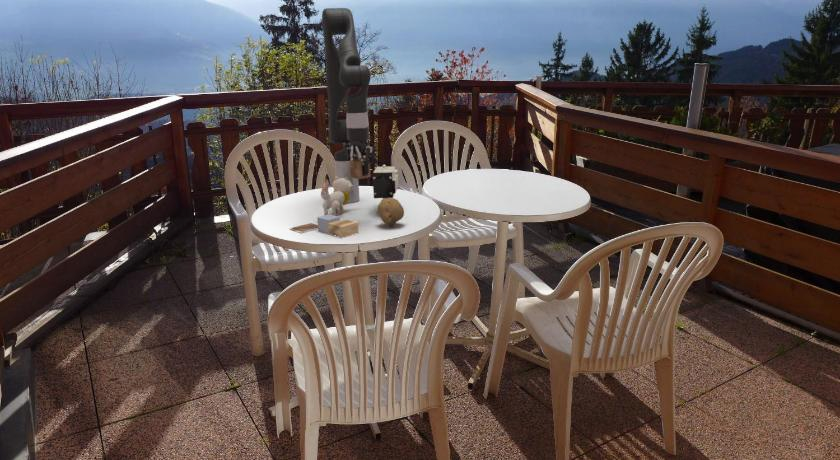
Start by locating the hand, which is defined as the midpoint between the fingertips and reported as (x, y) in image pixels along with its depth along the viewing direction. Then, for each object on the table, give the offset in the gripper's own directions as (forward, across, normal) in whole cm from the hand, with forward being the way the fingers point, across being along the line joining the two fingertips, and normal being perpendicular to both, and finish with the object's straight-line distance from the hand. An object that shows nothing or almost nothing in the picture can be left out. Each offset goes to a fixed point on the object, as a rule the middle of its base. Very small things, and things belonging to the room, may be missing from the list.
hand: (360, 174), depth 201 cm
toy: (+18, -15, -1) cm, 23 cm away
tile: (+17, -8, -19) cm, 27 cm away
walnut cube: (+1, 0, 0) cm, 1 cm away
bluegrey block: (+15, -3, -15) cm, 21 cm away
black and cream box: (+18, -5, +16) cm, 25 cm away
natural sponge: (+17, +12, +3) cm, 21 cm away
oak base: (+18, +7, -14) cm, 23 cm away
